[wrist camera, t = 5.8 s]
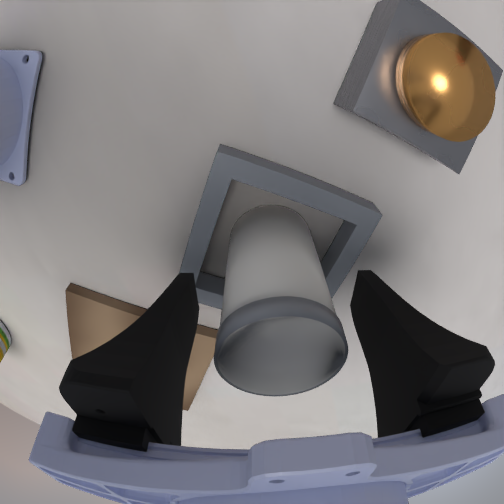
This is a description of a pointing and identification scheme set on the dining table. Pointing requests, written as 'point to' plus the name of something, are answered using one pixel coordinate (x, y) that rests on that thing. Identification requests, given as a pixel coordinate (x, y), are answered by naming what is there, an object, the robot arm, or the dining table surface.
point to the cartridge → (276, 309)
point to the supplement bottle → (4, 340)
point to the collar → (286, 185)
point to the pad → (117, 320)
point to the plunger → (446, 86)
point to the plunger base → (384, 77)
